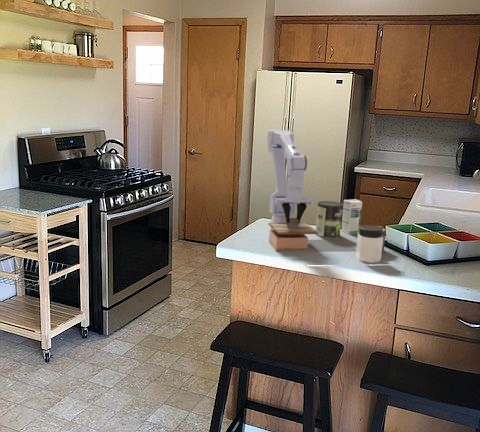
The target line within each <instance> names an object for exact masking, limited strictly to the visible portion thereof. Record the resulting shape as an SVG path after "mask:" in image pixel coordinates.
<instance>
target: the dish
mask: <svg viewBox="0 0 480 432" xmlns="http://www.w3.org/2000/svg"><path fill="white" fill-rule="evenodd" d="M268 232H269V234H268V243H269V244H270V245H271V246H272V248H273V249H274V251H275V252H279V251H280V250H283V251H284V250H308V245H309V243H308V240H309V237H308V236H307V235H306V234H277V233H276V232H275V231H274V230H271V229H269V230H268Z"/></svg>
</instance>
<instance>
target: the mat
mask: <svg viewBox="0 0 480 432" xmlns="http://www.w3.org/2000/svg"><path fill="white" fill-rule="evenodd" d="M308 245H310V246H311V247H312V248H313V249H314V250H315V251H316V252H320V253H323V252H332V253H333V252H336V253H337V252H356V248H355V247H354V246H352V245H351V244H350V243H348V242H347V241H345V240H344V239H308Z"/></svg>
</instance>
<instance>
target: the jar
mask: <svg viewBox="0 0 480 432" xmlns="http://www.w3.org/2000/svg"><path fill="white" fill-rule="evenodd" d="M383 229H384V228H382V227H381V228H380V227H378V225H376V226H375V225H371V224H369V225H367V224H365V225H360V228H359V233H357V239H356V240H357V241H356V248H355V249H356V251H355V258H356V259H357V260H358V261H361V262H366V263H370V264H374V263H377V262H381V261H382V260H381V259H382V253H383V252H382V245H383V237H382V235H383Z"/></svg>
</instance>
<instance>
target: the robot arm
mask: <svg viewBox="0 0 480 432" xmlns="http://www.w3.org/2000/svg"><path fill="white" fill-rule="evenodd" d="M294 136H295V135H294V132H293V131H292V129H290V130H284V129H283V130H281V129H279V130H278V129H269V131H268V134H267V149H268V152H269V153H271V154H272V161H273V171H274V185H275V186H274V187H275V192H273V193H272V194H271V195H270V196H269V205H268V207H269V208H268V209H269V212H270V214H272V216H271V219H270V220H271V221H270V223H289V221H290V218H292V217H293V214H294V213H296V218H297V219H298V220H299V223H301V219H302V217H303V214H304V212H305V210H306V209H307V207H308V205H314V199H313V198H305V197H303V192H304V189H303V188H304V177H305V171H307V167H308V159H307V156H306V155H305V154H302V153H301V151H300V149H299V148H298V146H296V144H293V143H294V140H295V139H294ZM286 167H287V168H286ZM286 170H287V171H286ZM287 176H288V178H287ZM270 230H273V229H272V228H271V227H270Z"/></svg>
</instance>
